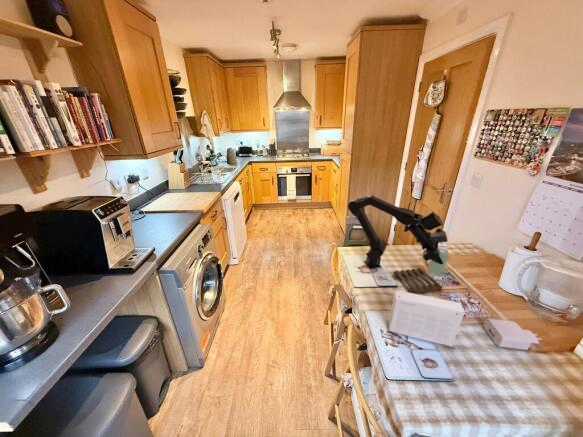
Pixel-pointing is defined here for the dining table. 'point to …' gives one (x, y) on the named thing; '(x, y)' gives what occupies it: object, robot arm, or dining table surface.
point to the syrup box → (441, 246)
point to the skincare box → (425, 317)
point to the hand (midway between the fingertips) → (441, 260)
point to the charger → (509, 334)
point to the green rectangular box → (436, 267)
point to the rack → (418, 289)
